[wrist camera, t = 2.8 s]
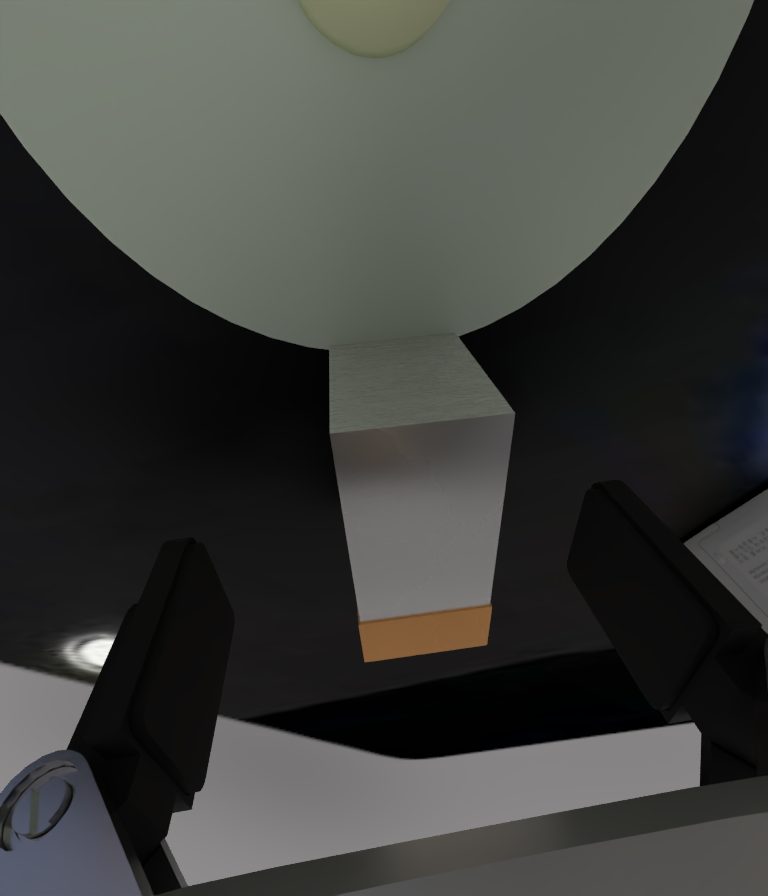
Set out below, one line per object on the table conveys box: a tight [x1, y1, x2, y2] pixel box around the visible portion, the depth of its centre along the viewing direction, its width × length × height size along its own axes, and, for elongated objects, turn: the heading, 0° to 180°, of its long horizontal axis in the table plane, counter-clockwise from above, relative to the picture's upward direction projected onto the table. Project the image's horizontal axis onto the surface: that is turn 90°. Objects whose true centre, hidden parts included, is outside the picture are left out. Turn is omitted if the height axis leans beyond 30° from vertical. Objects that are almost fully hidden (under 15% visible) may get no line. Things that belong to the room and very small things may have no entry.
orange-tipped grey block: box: [329, 333, 515, 662], centre depth 12 cm, size 8×4×6 cm, turn 4°
